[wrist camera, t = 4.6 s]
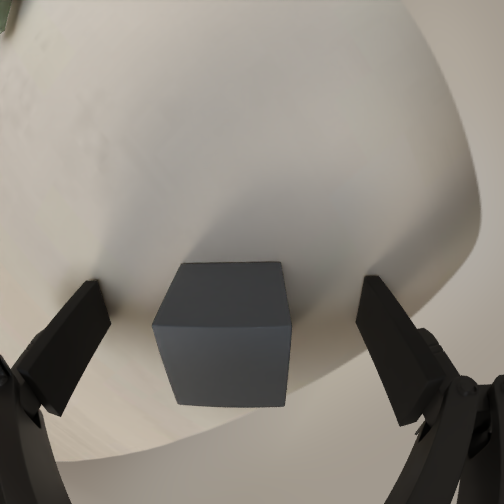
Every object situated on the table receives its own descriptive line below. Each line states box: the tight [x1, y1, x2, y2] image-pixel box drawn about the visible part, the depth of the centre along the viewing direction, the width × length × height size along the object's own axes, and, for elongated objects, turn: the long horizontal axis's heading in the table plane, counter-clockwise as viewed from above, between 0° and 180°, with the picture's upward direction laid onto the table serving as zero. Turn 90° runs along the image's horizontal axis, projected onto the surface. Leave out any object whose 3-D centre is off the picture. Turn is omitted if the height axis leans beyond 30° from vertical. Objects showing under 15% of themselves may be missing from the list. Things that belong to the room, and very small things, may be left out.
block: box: [152, 262, 292, 408], centre depth 11 cm, size 4×4×4 cm
